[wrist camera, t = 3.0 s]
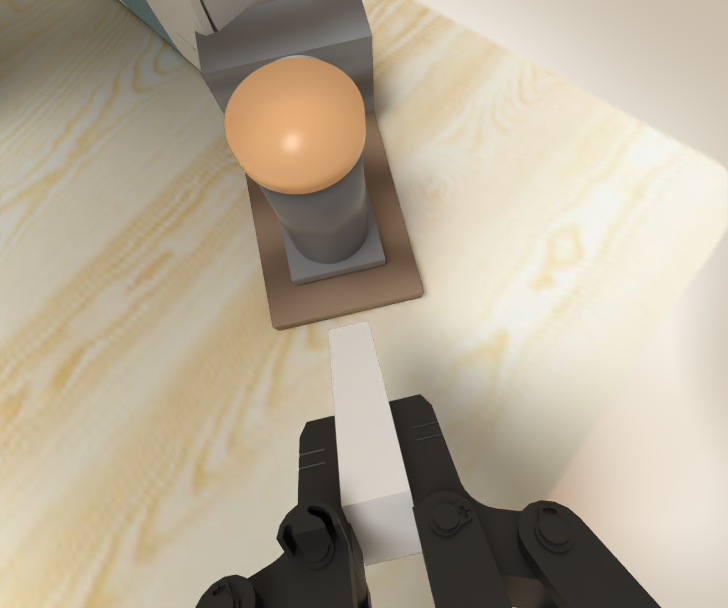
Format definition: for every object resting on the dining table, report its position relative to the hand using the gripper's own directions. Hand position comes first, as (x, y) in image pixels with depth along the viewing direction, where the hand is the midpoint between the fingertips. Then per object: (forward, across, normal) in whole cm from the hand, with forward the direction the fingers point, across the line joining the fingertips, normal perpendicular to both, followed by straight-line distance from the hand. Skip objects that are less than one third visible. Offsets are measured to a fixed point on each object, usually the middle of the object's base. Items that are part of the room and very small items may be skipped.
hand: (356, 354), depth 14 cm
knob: (+13, 0, 0) cm, 13 cm away
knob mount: (+17, 0, +2) cm, 17 cm away
